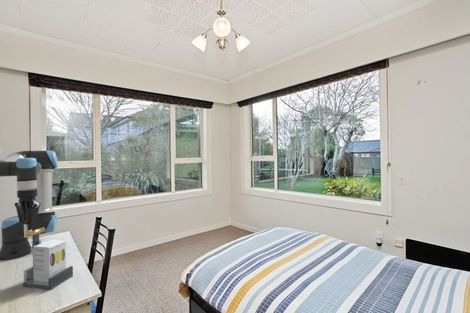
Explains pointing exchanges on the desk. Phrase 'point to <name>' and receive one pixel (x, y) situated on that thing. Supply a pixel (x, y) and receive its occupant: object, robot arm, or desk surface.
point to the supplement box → (49, 259)
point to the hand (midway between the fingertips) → (28, 236)
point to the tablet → (32, 243)
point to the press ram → (35, 237)
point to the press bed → (51, 280)
